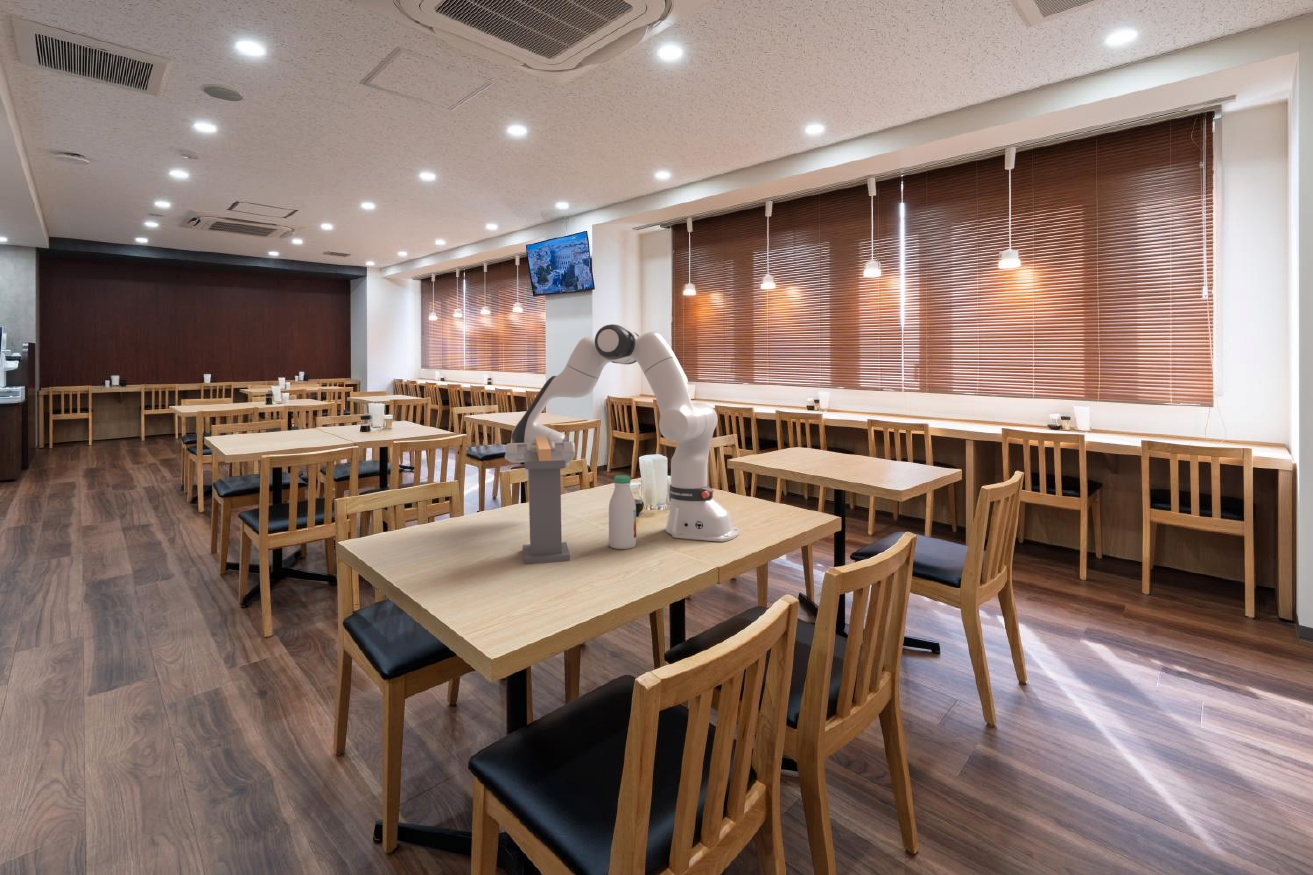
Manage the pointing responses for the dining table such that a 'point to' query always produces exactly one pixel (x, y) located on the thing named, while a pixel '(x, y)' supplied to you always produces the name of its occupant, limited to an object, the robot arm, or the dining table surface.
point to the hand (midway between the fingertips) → (541, 441)
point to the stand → (545, 509)
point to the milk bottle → (622, 515)
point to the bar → (543, 448)
